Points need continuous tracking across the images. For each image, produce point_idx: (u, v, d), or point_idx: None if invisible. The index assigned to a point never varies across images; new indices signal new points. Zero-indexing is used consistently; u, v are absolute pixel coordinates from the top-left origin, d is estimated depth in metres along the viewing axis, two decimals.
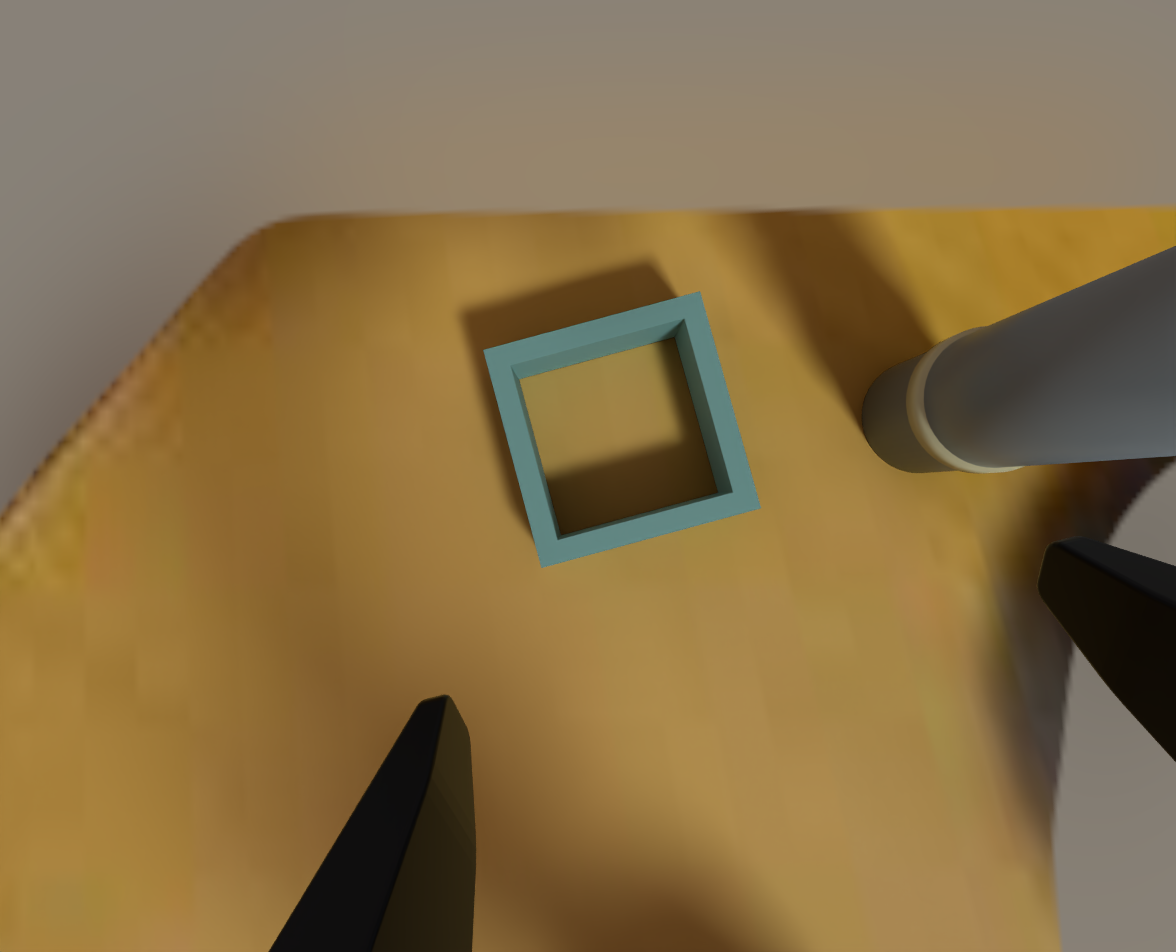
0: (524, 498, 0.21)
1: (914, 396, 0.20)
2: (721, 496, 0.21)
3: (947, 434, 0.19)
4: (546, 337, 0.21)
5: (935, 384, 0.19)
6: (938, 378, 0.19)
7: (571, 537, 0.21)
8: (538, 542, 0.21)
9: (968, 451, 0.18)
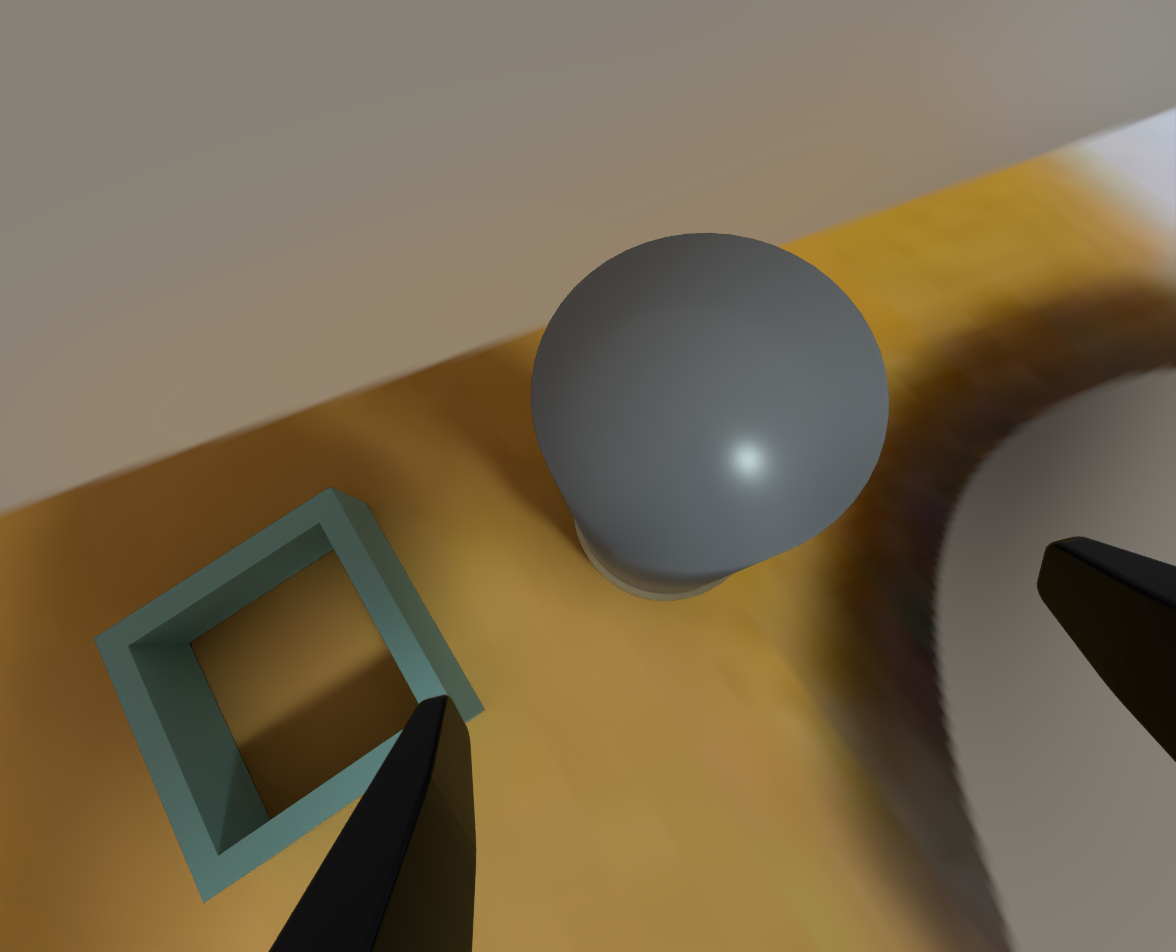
0: (168, 811, 0.16)
1: None
2: None
3: (610, 572, 0.14)
4: (166, 597, 0.18)
5: None
6: None
7: (235, 845, 0.16)
8: (194, 867, 0.16)
9: (639, 586, 0.14)
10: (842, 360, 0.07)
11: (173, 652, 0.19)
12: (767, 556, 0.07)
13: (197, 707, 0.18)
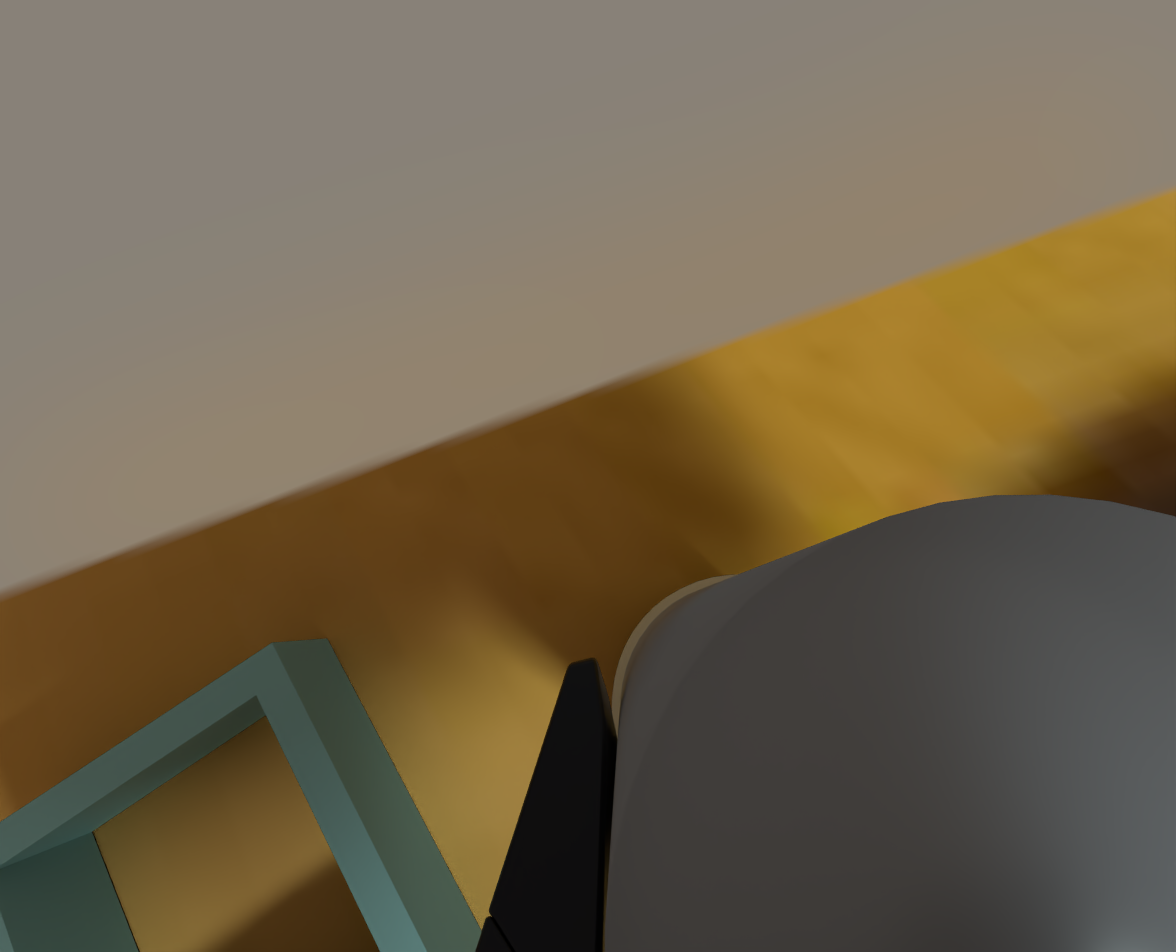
0: None
1: None
2: None
3: None
4: (43, 802, 0.13)
5: None
6: None
7: None
8: None
9: None
10: None
11: (64, 857, 0.14)
12: None
13: (93, 939, 0.14)
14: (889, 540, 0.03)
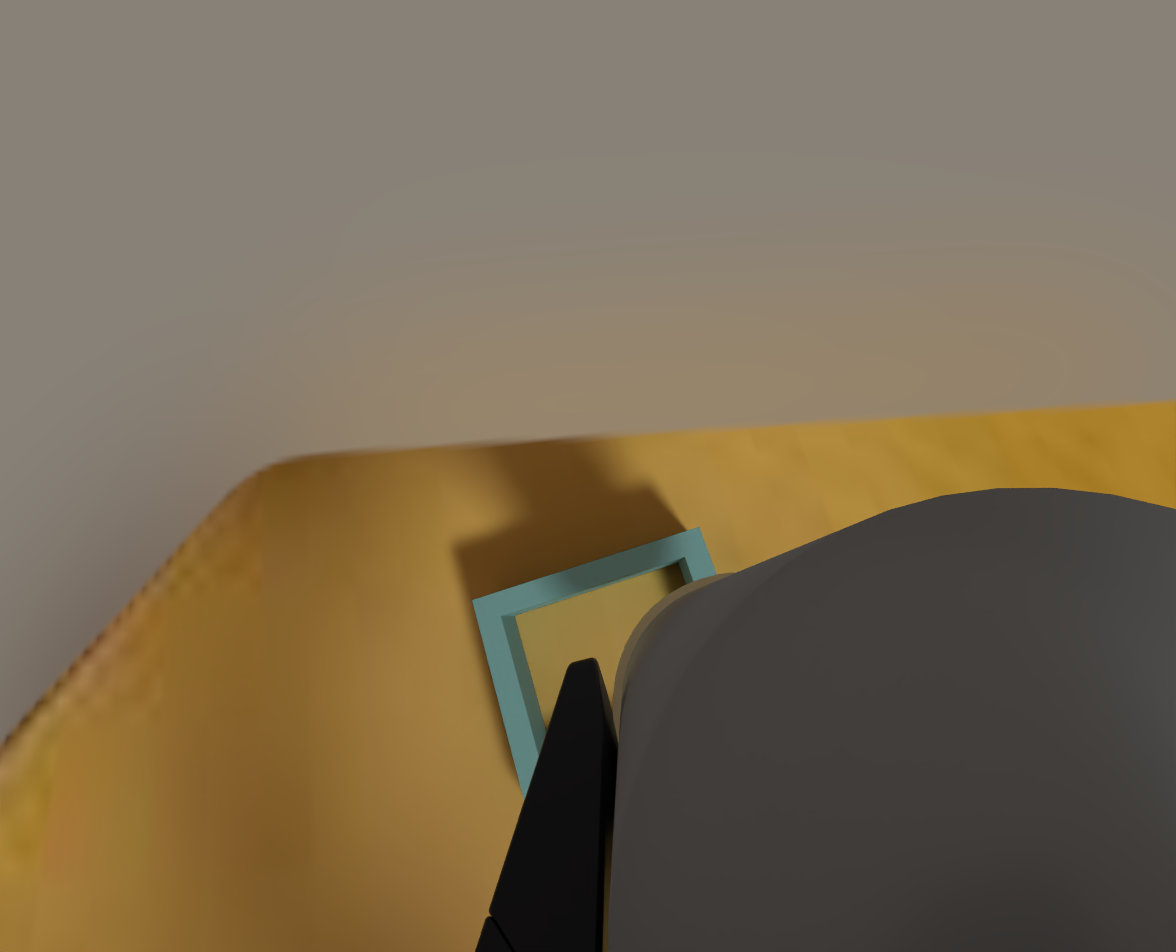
0: (518, 770, 0.19)
1: None
2: None
3: None
4: (538, 583, 0.20)
5: None
6: None
7: None
8: None
9: None
10: None
11: (512, 624, 0.21)
12: None
13: (527, 679, 0.21)
14: (892, 532, 0.03)
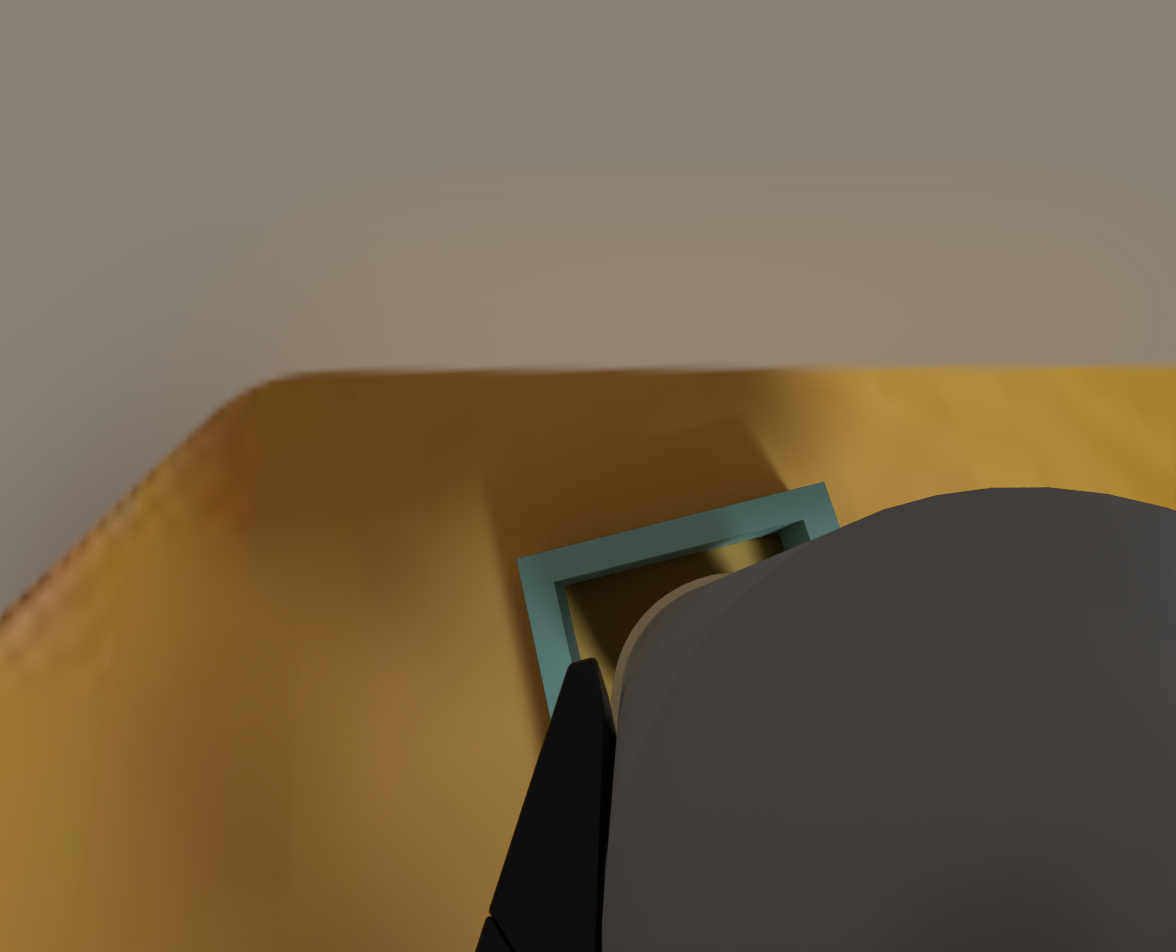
0: None
1: None
2: None
3: None
4: (605, 542, 0.15)
5: None
6: None
7: None
8: None
9: None
10: None
11: (563, 596, 0.16)
12: None
13: None
14: (886, 532, 0.03)
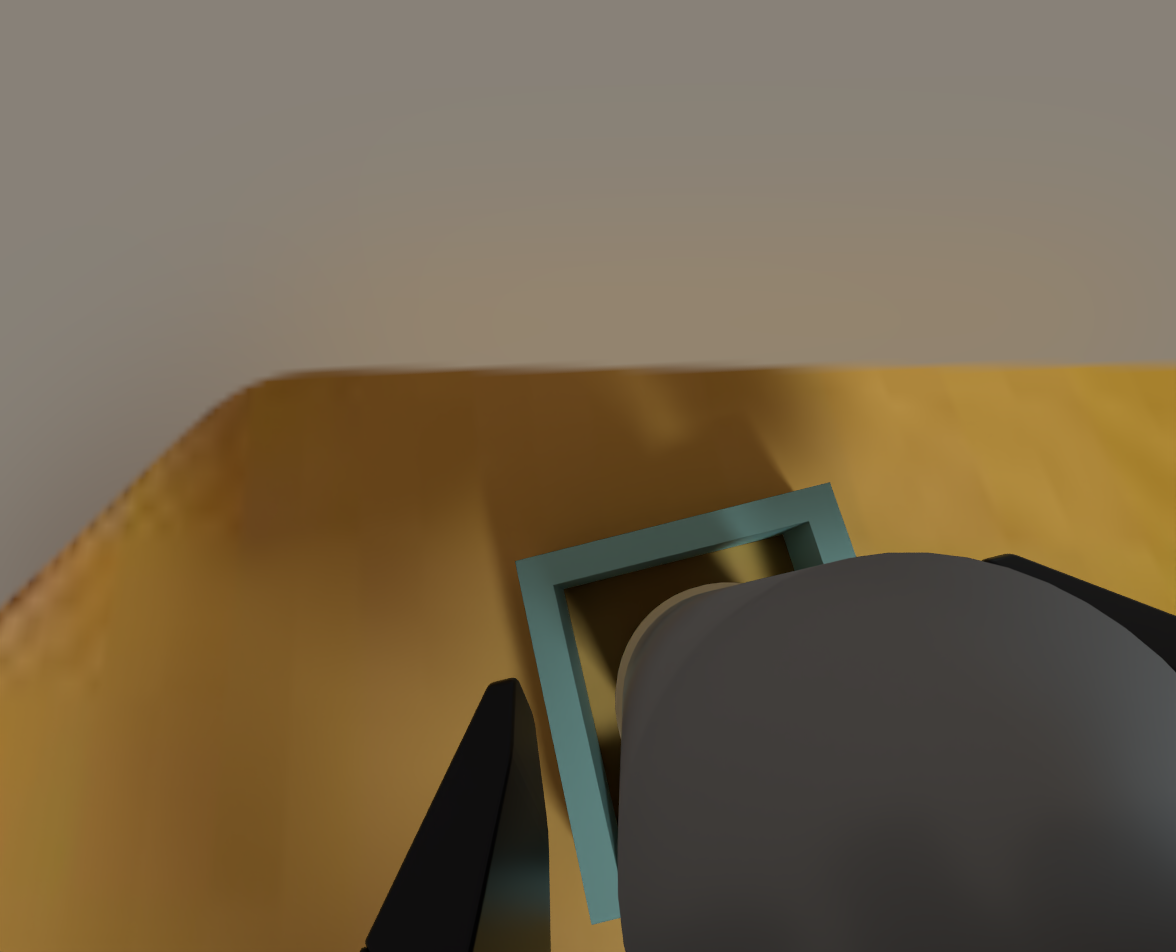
0: (567, 798, 0.13)
1: None
2: None
3: None
4: (606, 544, 0.15)
5: None
6: None
7: None
8: (587, 878, 0.13)
9: None
10: None
11: (563, 599, 0.16)
12: None
13: (579, 673, 0.16)
14: (814, 584, 0.05)
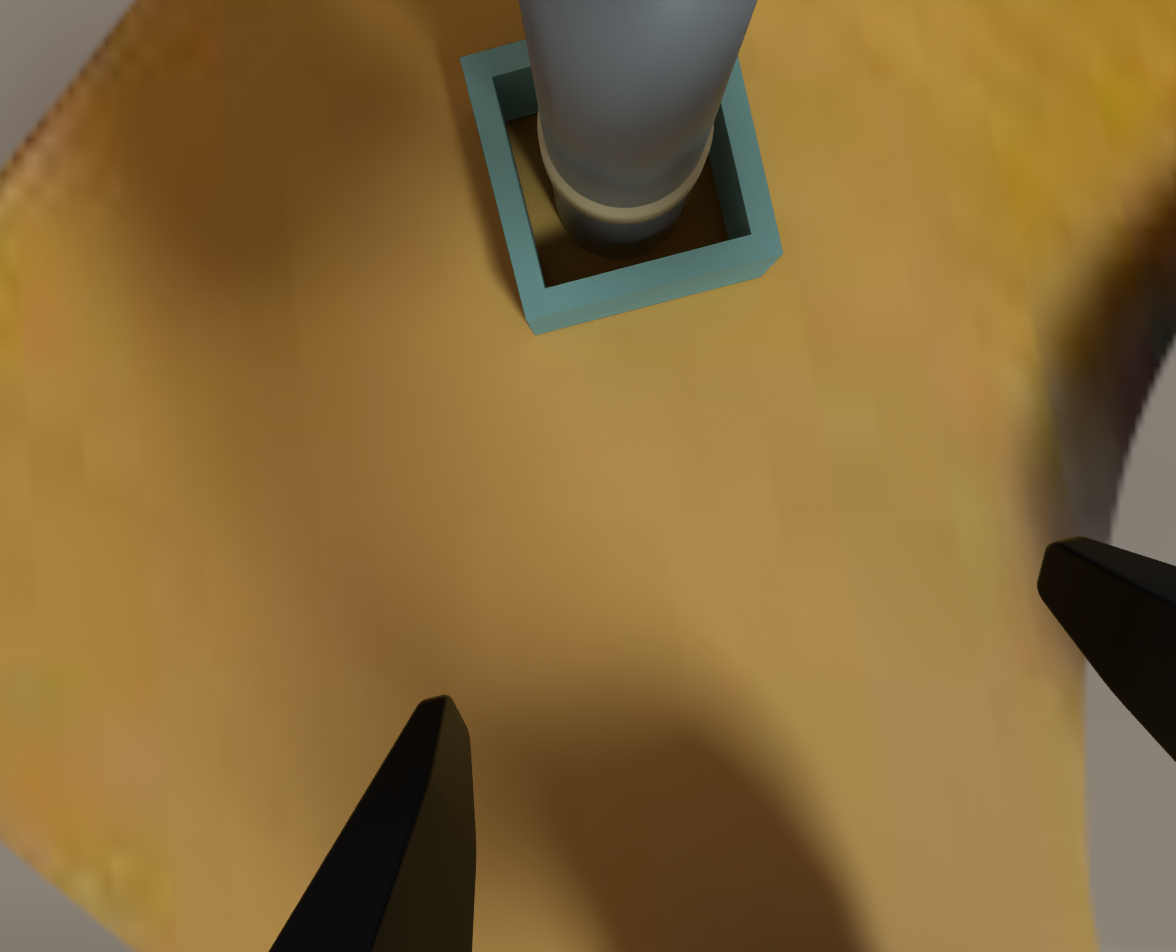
0: (507, 239, 0.18)
1: (541, 153, 0.16)
2: (737, 239, 0.18)
3: (573, 179, 0.15)
4: None
5: None
6: None
7: (561, 285, 0.18)
8: (522, 290, 0.18)
9: (598, 190, 0.15)
10: None
11: (503, 117, 0.19)
12: None
13: (518, 176, 0.20)
14: None
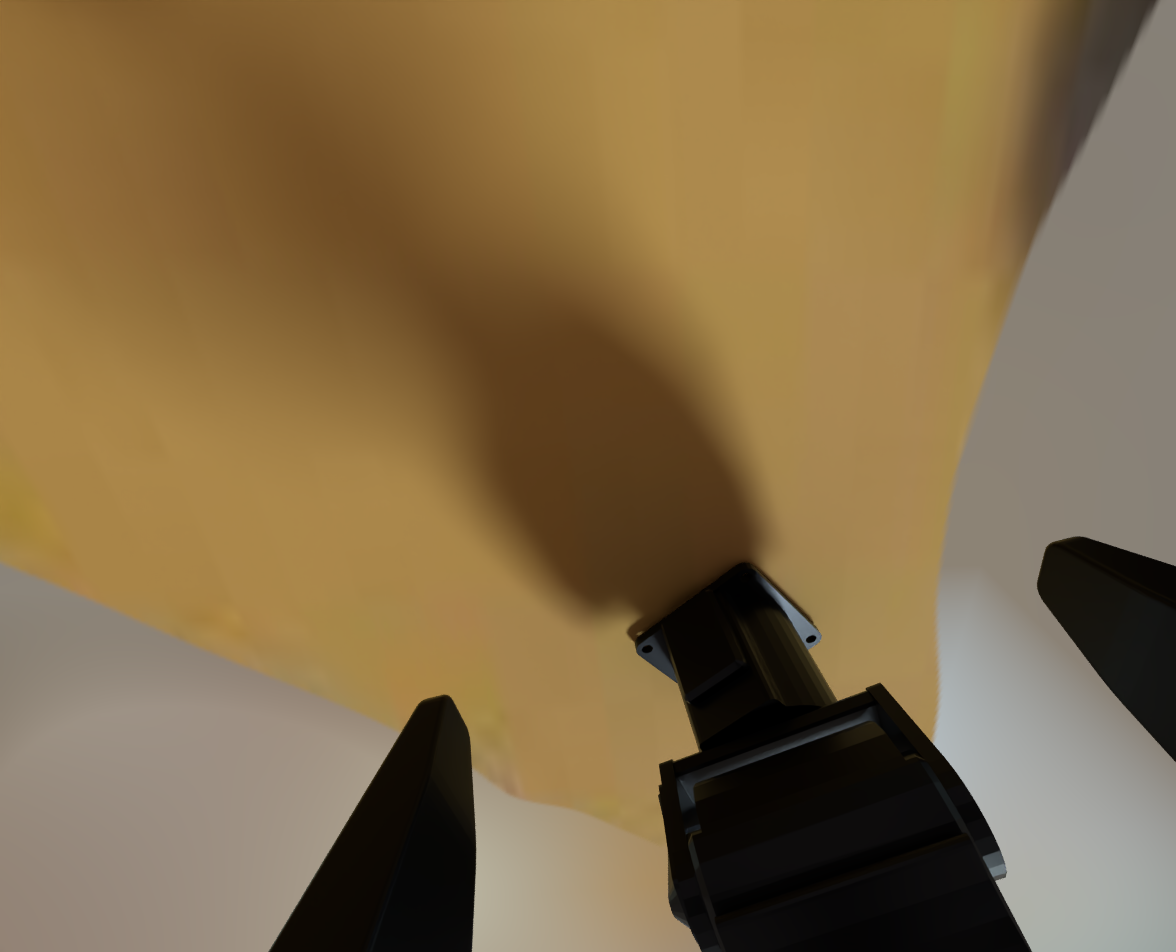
0: None
1: None
2: None
3: None
4: None
5: None
6: None
7: None
8: None
9: None
10: None
11: None
12: None
13: None
14: None
